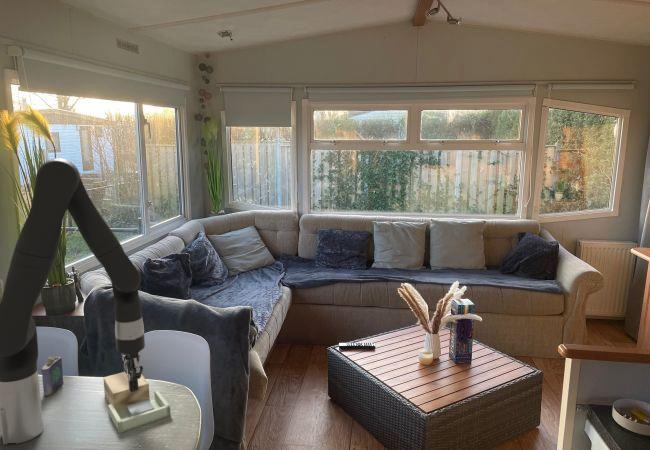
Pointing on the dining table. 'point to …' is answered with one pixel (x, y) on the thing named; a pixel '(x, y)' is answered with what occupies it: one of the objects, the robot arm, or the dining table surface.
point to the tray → (127, 422)
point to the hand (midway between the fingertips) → (133, 390)
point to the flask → (52, 375)
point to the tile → (139, 407)
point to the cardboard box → (124, 390)
